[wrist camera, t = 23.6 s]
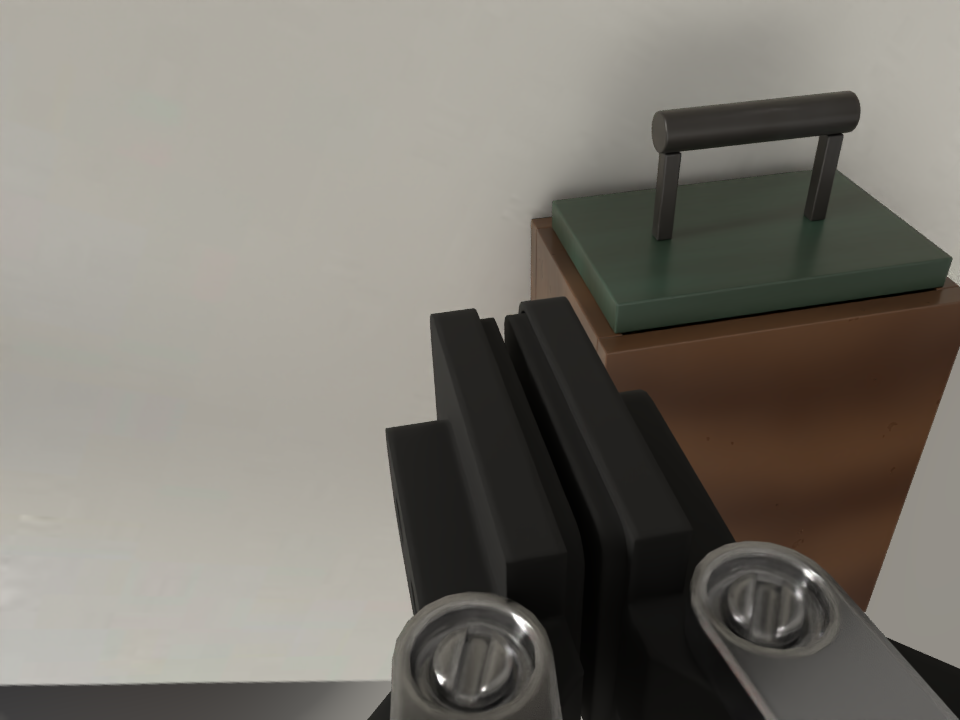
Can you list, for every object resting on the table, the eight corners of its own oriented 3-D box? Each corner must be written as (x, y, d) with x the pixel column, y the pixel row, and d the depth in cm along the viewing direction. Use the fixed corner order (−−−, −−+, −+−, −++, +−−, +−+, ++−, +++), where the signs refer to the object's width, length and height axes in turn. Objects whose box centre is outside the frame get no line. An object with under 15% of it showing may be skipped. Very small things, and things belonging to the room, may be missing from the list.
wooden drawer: (554, 81, 32) (626, 168, 26) (859, 51, 34) (997, 125, 27) (545, 486, 44) (594, 613, 38) (772, 448, 46) (854, 563, 39)
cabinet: (530, 218, 36) (606, 353, 28) (829, 182, 38) (977, 299, 30) (529, 509, 46) (585, 668, 38) (766, 468, 48) (866, 612, 40)
